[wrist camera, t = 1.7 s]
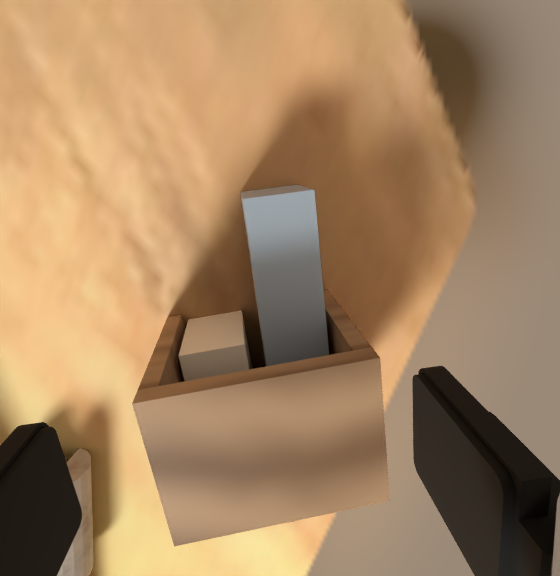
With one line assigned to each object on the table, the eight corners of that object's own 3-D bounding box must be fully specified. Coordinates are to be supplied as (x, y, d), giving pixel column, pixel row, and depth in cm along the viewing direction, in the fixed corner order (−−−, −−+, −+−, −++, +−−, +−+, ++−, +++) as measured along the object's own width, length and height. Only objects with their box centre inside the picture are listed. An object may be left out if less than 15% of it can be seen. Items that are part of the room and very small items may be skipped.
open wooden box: (167, 316, 29) (132, 403, 19) (327, 289, 30) (380, 357, 20) (192, 419, 32) (174, 546, 21) (338, 392, 33) (389, 500, 22)
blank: (240, 191, 28) (242, 199, 22) (297, 184, 28) (314, 189, 22) (264, 359, 32) (272, 402, 26) (314, 351, 32) (332, 392, 26)
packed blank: (188, 319, 30) (178, 356, 24) (241, 310, 30) (244, 344, 24) (206, 399, 32) (201, 451, 26) (256, 390, 32) (261, 439, 26)
